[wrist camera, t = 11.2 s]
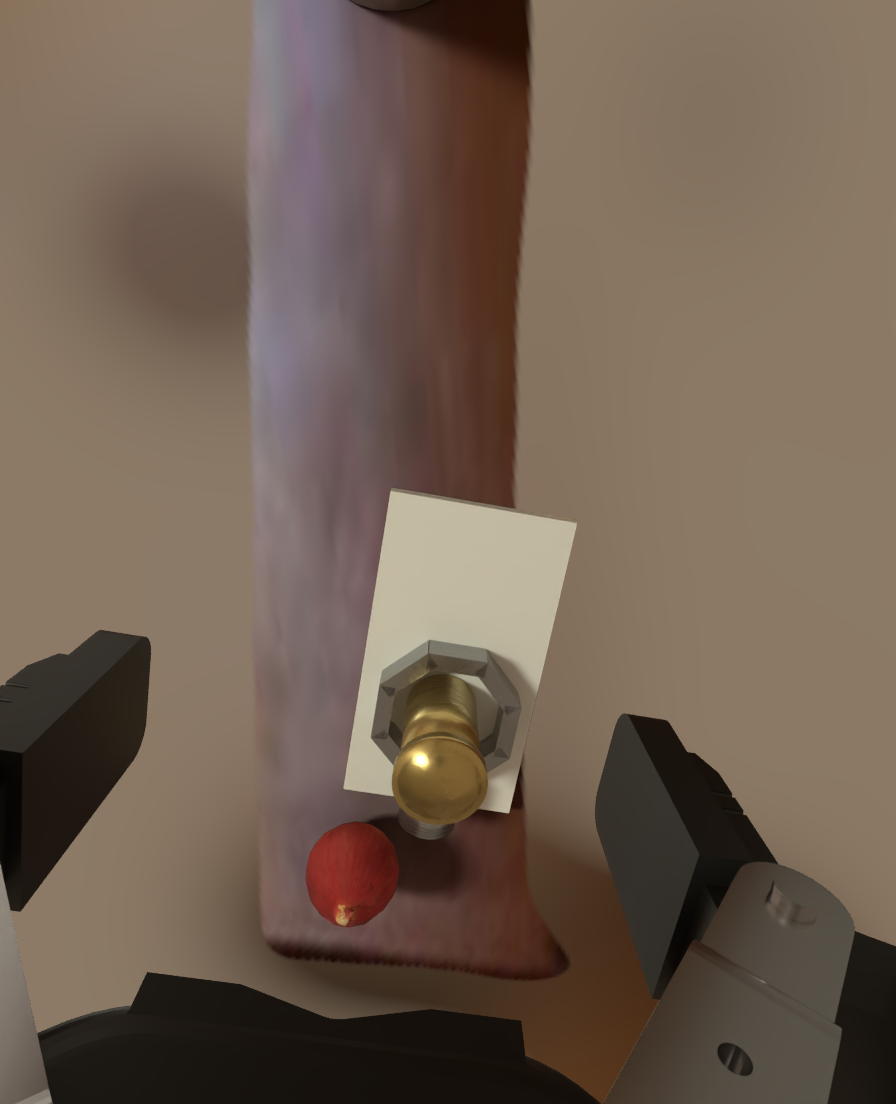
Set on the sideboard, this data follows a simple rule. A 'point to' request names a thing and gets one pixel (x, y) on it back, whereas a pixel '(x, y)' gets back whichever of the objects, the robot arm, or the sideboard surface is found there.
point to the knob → (440, 753)
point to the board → (461, 614)
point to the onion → (352, 874)
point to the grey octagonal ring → (453, 661)
